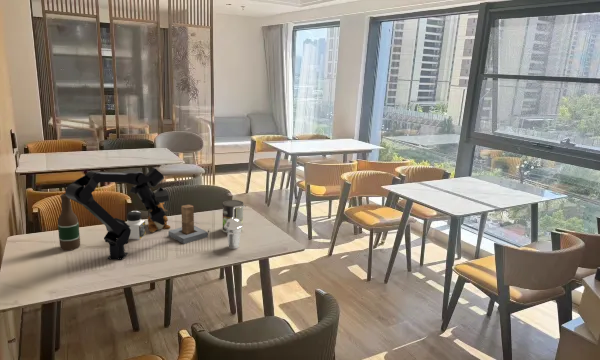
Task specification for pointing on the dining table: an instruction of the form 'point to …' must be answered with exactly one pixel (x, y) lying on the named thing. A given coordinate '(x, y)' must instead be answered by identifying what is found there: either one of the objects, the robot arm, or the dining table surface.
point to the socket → (188, 238)
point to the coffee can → (228, 211)
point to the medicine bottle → (136, 225)
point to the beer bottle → (68, 226)
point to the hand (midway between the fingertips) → (161, 219)
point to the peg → (187, 219)
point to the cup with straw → (233, 230)
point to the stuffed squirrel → (156, 226)
